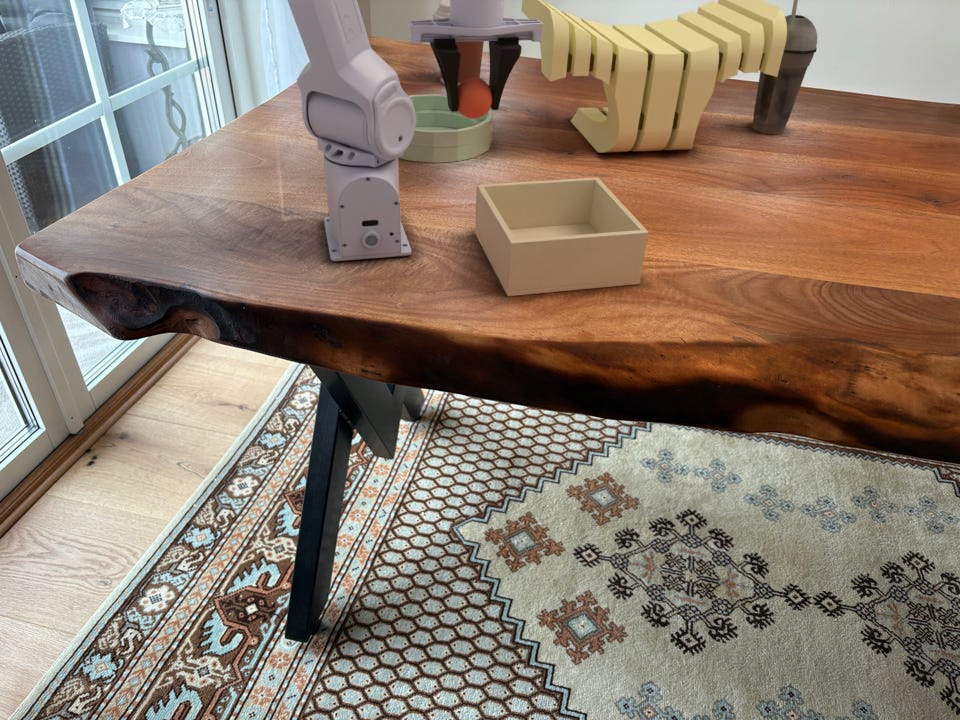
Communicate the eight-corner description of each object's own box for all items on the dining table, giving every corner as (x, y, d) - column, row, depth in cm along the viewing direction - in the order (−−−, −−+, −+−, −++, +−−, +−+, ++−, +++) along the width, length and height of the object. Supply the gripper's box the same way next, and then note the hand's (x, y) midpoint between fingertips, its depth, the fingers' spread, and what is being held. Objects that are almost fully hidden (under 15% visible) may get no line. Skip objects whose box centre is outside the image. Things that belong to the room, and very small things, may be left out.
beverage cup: (804, 135, 111) (848, -17, 100) (764, 139, 109) (803, -15, 97) (771, 119, 117) (809, -27, 105) (732, 123, 115) (766, -25, 103)
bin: (639, 284, 74) (649, 232, 71) (507, 296, 71) (511, 242, 68) (591, 224, 84) (598, 177, 81) (474, 233, 81) (476, 184, 78)
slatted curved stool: (543, 163, 98) (556, 14, 88) (514, 122, 111) (522, -13, 101) (757, 155, 104) (793, 13, 94) (706, 116, 117) (733, -12, 106)
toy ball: (496, 122, 87) (498, 83, 85) (458, 124, 86) (459, 84, 84) (486, 110, 91) (488, 72, 88) (450, 112, 90) (450, 73, 87)
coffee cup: (421, 80, 127) (420, 1, 120) (457, 70, 132) (459, -6, 125) (462, 92, 122) (464, 11, 115) (498, 81, 128) (502, 3, 121)
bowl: (503, 163, 98) (505, 129, 95) (384, 170, 95) (383, 134, 92) (475, 124, 110) (476, 92, 107) (369, 129, 107) (368, 96, 104)
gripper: (532, -30, 85) (524, 95, 93) (402, -30, 81) (404, 99, 89) (553, -18, 79) (542, 113, 87) (414, -18, 76) (415, 119, 84)
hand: (473, 108), depth 88 cm, fingers closed on toy ball, 4 cm apart
